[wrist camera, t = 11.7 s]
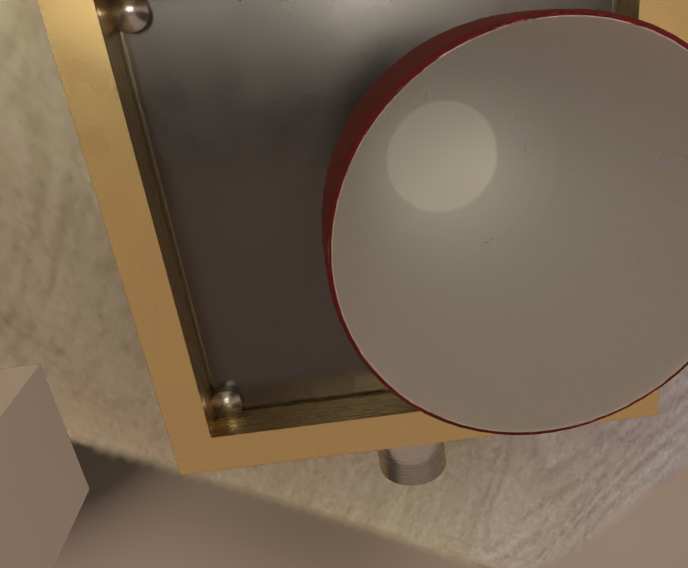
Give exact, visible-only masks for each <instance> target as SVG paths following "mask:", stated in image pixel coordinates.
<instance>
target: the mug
mask: <svg viewBox="0 0 688 568" xmlns="http://www.w3.org/2000/svg"><path fill="white" fill-rule="evenodd" d="M322 240H323V250H324V258H325V266H326V272H327V278H328V283H329V288H330V292H331V296H332V301H333V304H334V307H335V309H336V312H337V315H338V318H339V321H340V323H341V325H342V327H343V329H344V331H345V333H346V336H347V338H348V340H349V341H350V343H351V345H352V346H353V348H354V350H355V351H356V353H357V354H358V356H359V357H360V359H361V360H362V361H363V362H364V364H365V365H366V366H367V368H368V369H369V370H370V371H371V372H372V373H373V374H374V376H375V377H376V378H377V379H378V380H379V381H380V382H381V383H382V384H383V385H384V386H386V387H387V388H388V389H389V390H390V391H391V392H392V393H394V394H395V395H396V396H398V397H399V398H400V399H402V400H403V401H405V402H406V403H408V404H409V405H410V406H412V407H414V408H416V409H418V410H419V411H421V412H423V413H425V414H427V415H429V416H431V417H433V418H436V419H438V420H440V421H442V422H445V423H448V424H451V425H454V426H457V427H461V428H465V429H469V430H474V431H478V432H485V433H492V434H504V435H531V434H542V433H550V432H556V431H561V430H566V429H571V428H575V427H578V426H582V425H585V424H589V423H592V422H595V421H597V420H600V419H603V418H605V417H608V416H611V415H613V414H615V413H617V412H619V411H621V410H623V409H626V408H628V407H629V406H631V405H633V404H635V403H637V402H638V401H640V400H642V399H644V398H645V397H647V396H648V395H650V394H651V393H653V392H654V391H656V390H657V389H659V388H660V387H662V386H663V385H664V384H666V383H667V382H668V381H669V380H671V379H672V378H673V377H674V376H676V375H677V374H678V373H679V372H680V371H681V370H682V369H684V368H685V367H686V366H687V365H688V43H686V42H685V41H683V40H682V39H680V38H679V37H677V36H676V35H674V34H672V33H670V32H668V31H666V30H664V29H662V28H660V27H658V26H656V25H654V24H651V23H648V22H645V21H642V20H639V19H637V18H634V17H630V16H626V15H621V14H617V13H613V12H608V11H601V10H591V9H541V10H530V11H521V12H512V13H505V14H499V15H494V16H490V17H485V18H480V19H477V20H474V21H471V22H468V23H465V24H462V25H459V26H456V27H454V28H452V29H449V30H447V31H445V32H443V33H440V34H438V35H436V36H434V37H432V38H431V39H429V40H427V41H425V42H424V43H422V44H420V45H418V46H417V47H415V48H414V49H412V50H411V51H410V52H408V53H407V54H405V55H404V56H403V57H401V58H400V59H399V60H398V61H397V62H395V63H394V64H393V65H392V66H391V67H390V68H388V69H387V70H386V71H385V72H384V73H383V74H382V75H381V76H380V77H379V78H378V79H377V80H376V81H375V82H374V84H373V85H372V86H371V87H370V88H369V89H368V91H367V92H366V93H365V95H364V96H363V97H362V98H361V100H360V101H359V102H358V104H357V105H356V107H355V109H354V110H353V112H352V113H351V115H350V116H349V118H348V120H347V122H346V124H345V126H344V128H343V130H342V131H341V133H340V135H339V138H338V140H337V143H336V145H335V148H334V150H333V153H332V156H331V160H330V163H329V167H328V170H327V175H326V180H325V186H324V192H323V201H322Z"/></svg>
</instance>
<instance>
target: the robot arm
mask: <svg viewBox="0 0 688 568" xmlns="http://www.w3.org/2000/svg"><path fill="white" fill-rule="evenodd" d="M88 491H89V487H88V484H87V482H86V479H85V477H84V475H83V472H82V469H81V467H80V464H79V462H78V459H77V457H76V454H75V452H74V449H73V446H72V444H71V441H70V439H69V436H68V434H67V431H66V429H65V426H64V424H63V421H62V419H61V416H60V414H59V411H58V408H57V406H56V403H55V401H54V398H53V396H52V393H51V391H50V388H49V386H48V383H47V381H46V378H45V376H44V373H43V370H42V368H41V365H40V364H35V365H28V366H21V367H13V368H6V369H0V568H54V565H55V563H56V561H57V559H58V557H59V554H60V552H61V550H62V548H63V546H64V544H65V541H66V539H67V537H68V535H69V532H70V530H71V528H72V526H73V524H74V522H75V519H76V517H77V515H78V513H79V511H80V508H81V506H82V504H83V502H84V500H85V497H86V495H87V493H88Z"/></svg>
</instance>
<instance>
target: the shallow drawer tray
mask: <svg viewBox="0 0 688 568" xmlns="http://www.w3.org/2000/svg"><path fill="white" fill-rule="evenodd" d="M37 2H38V5H39V8H40V12H41V15H42V18H43V21H44V25H45V28H46V31H47V35H48V38H49V41H50V45H51V48H52V51H53V55H54V58H55V61H56V64H57V68H58V71H59V74H60V78H61V81H62V84H63V88H64V91H65V94H66V98H67V101H68V104H69V107H70V111H71V114H72V117H73V121H74V124H75V127H76V131H77V134H78V137H79V141H80V144H81V147H82V150H83V154H84V157H85V160H86V164H87V167H88V170H89V174H90V177H91V180H92V184H93V187H94V190H95V193H96V197H97V200H98V203H99V207H100V210H101V213H102V217H103V220H104V223H105V227H106V230H107V233H108V237H109V240H110V243H111V246H112V250H113V253H114V256H115V260H116V263H117V266H118V270H119V273H120V276H121V280H122V283H123V286H124V289H125V293H126V296H127V299H128V303H129V306H130V309H131V313H132V316H133V319H134V323H135V326H136V329H137V332H138V336H139V339H140V342H141V346H142V349H143V352H144V356H145V359H146V362H147V366H148V369H149V372H150V375H151V379H152V382H153V385H154V389H155V392H156V395H157V399H158V402H159V405H160V409H161V412H162V415H163V418H164V422H165V425H166V428H167V432H168V435H169V438H170V442H171V445H172V448H173V452H174V455H175V458H176V461H177V465H178V468H179V471H180V474H181V475H183V474H191V473H199V472H207V471H215V470H223V469H231V468H239V467H247V466H255V465H263V464H271V463H279V462H287V461H295V460H303V459H311V458H319V457H327V456H335V455H343V454H351V453H359V452H367V451H374V450H378V455H379V463H380V469H381V471H382V473H383V474H384V476H385V477H387V478H388V479H389V480H391V481H393V482H395V483H398V484H402V485H421V484H425V483H428V482H430V481H432V480H434V479H435V478H437V477H438V476H439V475H440V474H441V473H442V472H443V470H444V468H445V465H446V457H445V445H444V442H446V441H454V440H462V439H470V438H478V437H486V436H494V435H502V434H492V433H485V432H478V431H474V430H469V429H465V428H461V427H457V426H454V425H451V424H448V423H445V422H442V421H440V420H438V419H436V418H433V417H431V416H429V415H427V414H425V413H423V412H421V411H419V410H418V409H416V408H414V407H412V406H410V405H409V404H408V403H406V402H405V401H403V400H402V399H400V398H399V397H398V396H396V395H395V394H394V393H392V392H391V391H390V390H389V389H388V388H387V387H386V386H384V385H383V384H382V383H381V382H380V381H379V380H378V379H377V378H376V377H375V376H374V374H373V373H372V372H371V371H370V370H369V369H368V368H367V366H366V365H365V364H364V362H363V361H362V360H361V359H360V357H359V356H358V354H357V353H356V351H355V350H354V348H353V346H352V345H351V343H350V341H349V340H348V338H347V336H346V333H345V331H344V329H343V327H342V325H341V323H340V321H339V318H338V315H337V312H336V309H335V307H334V304H333V301H332V296H331V292H330V288H329V283H328V278H327V272H326V266H325V258H324V250H323V240H322V201H323V192H324V186H325V180H326V175H327V170H328V167H329V163H330V160H331V156H332V153H333V150H334V148H335V145H336V143H337V140H338V138H339V135H340V133H341V131H342V130H343V128H344V126H345V124H346V122H347V120H348V118H349V116H350V115H351V113H352V112H353V110H354V109H355V107H356V105H357V104H358V102H359V101H360V100H361V98H362V97H363V96H364V95H365V93H366V92H367V91H368V89H369V88H370V87H371V86H372V85H373V84H374V82H375V81H376V80H377V79H378V78H379V77H380V76H381V75H382V74H383V73H384V72H385V71H386V70H387V69H388V68H390V67H391V66H392V65H393V64H394V63H395V62H397V61H398V60H399V59H400V58H401V57H403V56H404V55H405V54H407V53H408V52H410V51H411V50H412V49H414V48H415V47H417V46H418V45H420V44H422V43H424V42H425V41H427V40H429V39H431V38H432V37H434V36H436V35H438V34H440V33H443V32H445V31H447V30H449V29H452V28H454V27H456V26H459V25H462V24H465V23H468V22H471V21H474V20H477V19H480V18H485V17H490V16H494V15H499V14H505V13H512V12H521V11H530V10H541V9H591V10H601V11H608V12H613V13H617V14H621V15H626V16H630V17H634V18H637V19H639V20H642V21H645V22H648V23H651V24H654V25H656V26H658V27H660V28H662V29H664V30H666V31H668V32H670V33H672V34H674V35H676V36H677V37H679V38H680V39H682V40H683V41H685V42H686V43H688V0H37ZM658 400H659V389H657V390H656V391H654V392H653V393H651V394H650V395H648V396H647V397H645V398H644V399H642V400H640V401H638V402H637V403H635V404H633V405H631V406H629V407H628V408H626V409H623V410H621V411H619V412H617V413H615V414H613V415H611V416H608V417H605V418H603V419H600V420H597V421H595V422H592V423H598V422H606V421H614V420H622V419H630V418H638V417H646V416H654V415H657V411H658ZM589 424H590V423H589Z"/></svg>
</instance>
